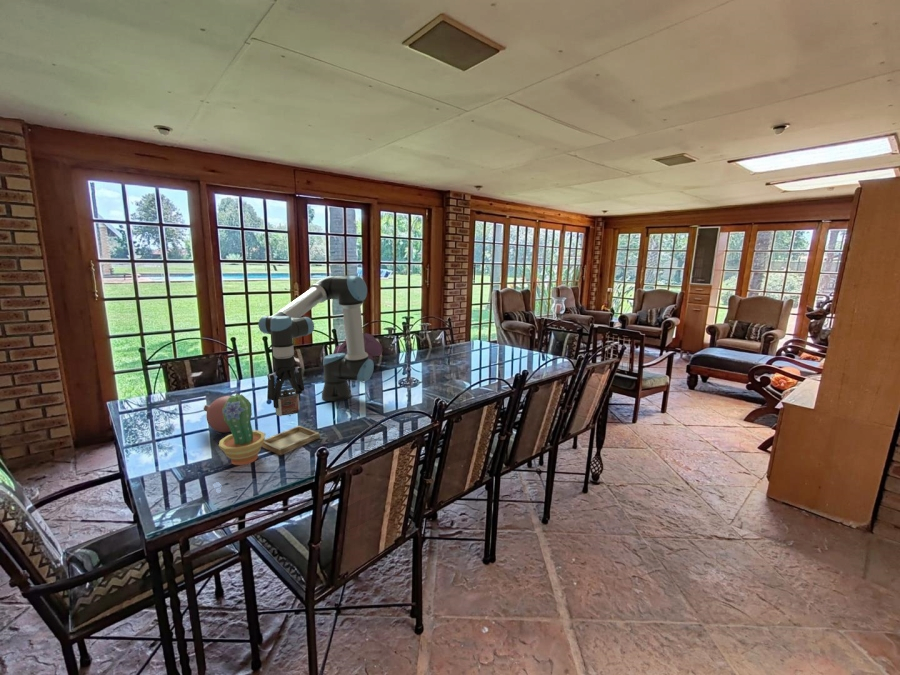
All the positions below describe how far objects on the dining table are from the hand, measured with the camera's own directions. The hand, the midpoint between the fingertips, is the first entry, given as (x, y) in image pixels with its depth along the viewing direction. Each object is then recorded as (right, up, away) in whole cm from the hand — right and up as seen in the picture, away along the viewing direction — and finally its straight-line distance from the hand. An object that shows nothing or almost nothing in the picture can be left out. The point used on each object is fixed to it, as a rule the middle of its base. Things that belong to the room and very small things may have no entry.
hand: (288, 411), depth 159 cm
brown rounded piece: (-32, -11, +13) cm, 37 cm away
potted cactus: (-12, -16, -11) cm, 22 cm away
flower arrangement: (+2, +8, +101) cm, 102 cm away
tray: (0, -13, +3) cm, 13 cm away
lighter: (0, -1, 0) cm, 1 cm away
